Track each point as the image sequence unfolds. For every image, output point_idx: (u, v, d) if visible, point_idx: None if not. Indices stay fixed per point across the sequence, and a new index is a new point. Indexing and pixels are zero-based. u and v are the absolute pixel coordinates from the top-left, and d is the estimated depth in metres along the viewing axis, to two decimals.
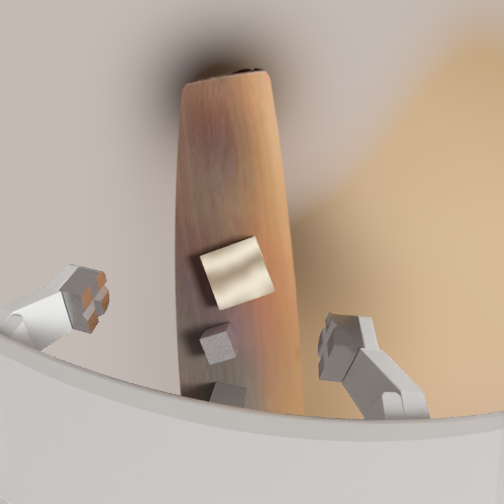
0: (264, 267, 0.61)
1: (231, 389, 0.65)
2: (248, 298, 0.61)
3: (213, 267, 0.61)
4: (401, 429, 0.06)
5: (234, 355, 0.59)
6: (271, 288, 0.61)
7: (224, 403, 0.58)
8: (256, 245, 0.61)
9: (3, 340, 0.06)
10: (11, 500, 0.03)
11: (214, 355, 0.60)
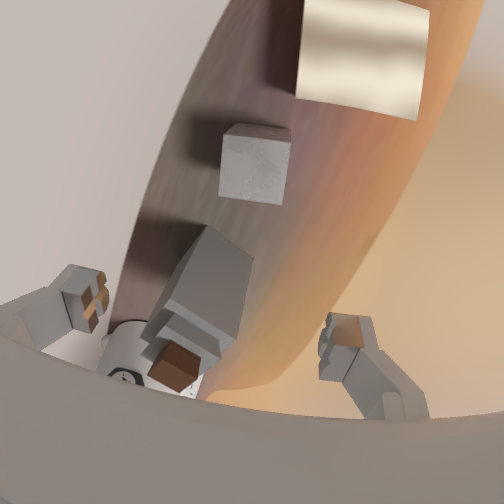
0: (421, 69, 0.22)
1: (229, 252, 0.37)
2: (363, 104, 0.24)
3: (324, 12, 0.21)
4: (401, 429, 0.06)
5: (279, 200, 0.28)
6: (414, 112, 0.24)
7: (211, 284, 0.31)
8: (425, 26, 0.20)
9: (3, 340, 0.06)
10: (11, 500, 0.03)
11: (237, 182, 0.27)
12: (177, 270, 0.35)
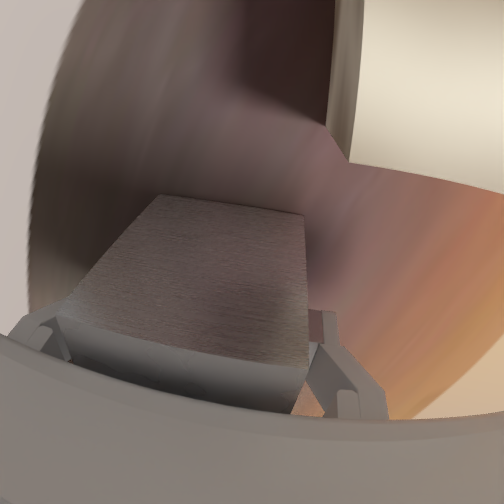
0: None
1: None
2: None
3: None
4: (401, 429, 0.06)
5: None
6: None
7: None
8: None
9: (3, 340, 0.06)
10: (11, 500, 0.03)
11: None
12: None
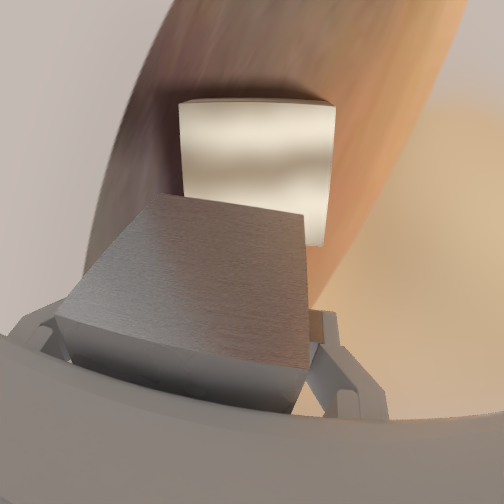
0: (326, 187, 0.23)
1: None
2: None
3: (202, 140, 0.22)
4: (401, 429, 0.06)
5: None
6: (319, 237, 0.25)
7: None
8: (330, 130, 0.21)
9: (3, 340, 0.06)
10: (11, 500, 0.03)
11: None
12: None
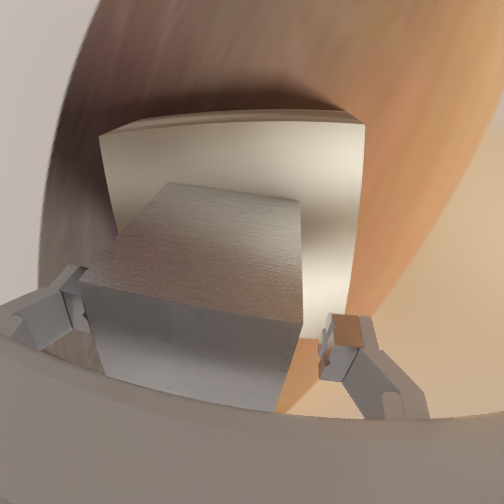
0: (347, 260, 0.14)
1: None
2: None
3: (140, 193, 0.14)
4: (401, 429, 0.06)
5: None
6: None
7: None
8: (355, 166, 0.12)
9: (3, 340, 0.06)
10: (11, 500, 0.03)
11: None
12: None
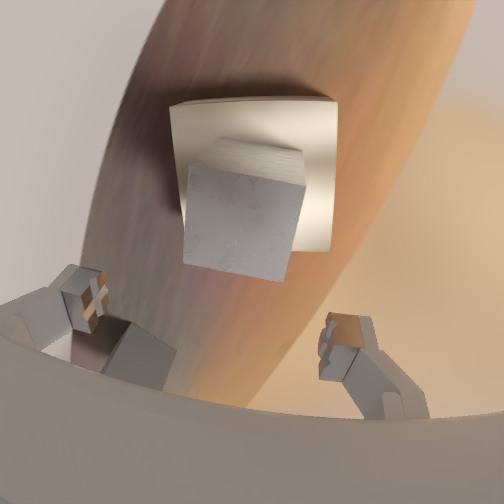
0: (331, 189, 0.22)
1: (150, 349, 0.37)
2: None
3: (196, 144, 0.21)
4: (401, 429, 0.06)
5: (280, 275, 0.17)
6: (326, 242, 0.24)
7: None
8: (332, 127, 0.19)
9: (3, 340, 0.06)
10: (11, 500, 0.03)
11: (213, 244, 0.17)
12: (106, 364, 0.35)
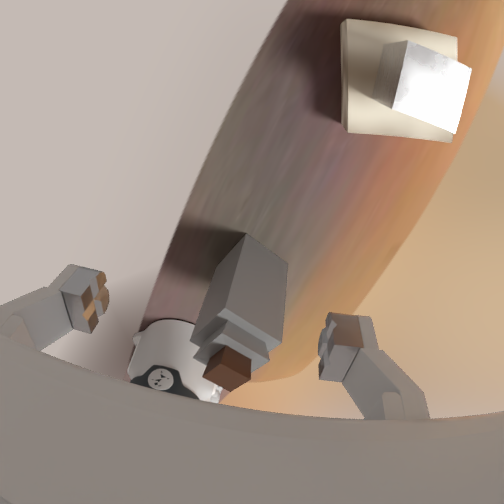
0: None
1: (268, 259, 0.40)
2: (406, 133, 0.27)
3: (366, 49, 0.23)
4: (401, 429, 0.06)
5: (454, 127, 0.19)
6: (450, 135, 0.26)
7: (256, 291, 0.34)
8: (454, 53, 0.21)
9: (3, 340, 0.06)
10: (11, 500, 0.03)
11: (416, 97, 0.19)
12: (220, 276, 0.38)
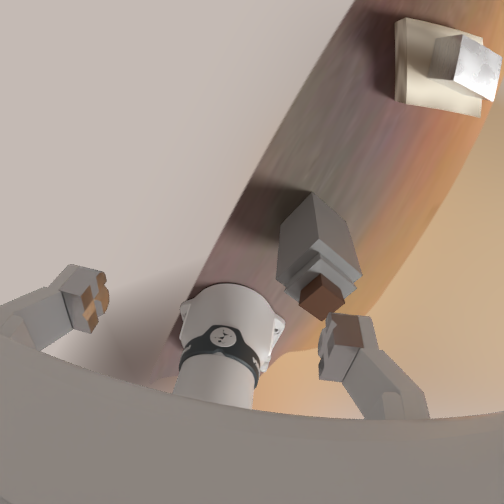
0: None
1: (332, 214, 0.43)
2: (448, 107, 0.31)
3: (419, 41, 0.27)
4: (401, 429, 0.06)
5: (492, 97, 0.23)
6: (479, 111, 0.30)
7: (334, 234, 0.37)
8: None
9: (3, 340, 0.06)
10: (11, 500, 0.03)
11: (468, 73, 0.23)
12: (293, 227, 0.41)
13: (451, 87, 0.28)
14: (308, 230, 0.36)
